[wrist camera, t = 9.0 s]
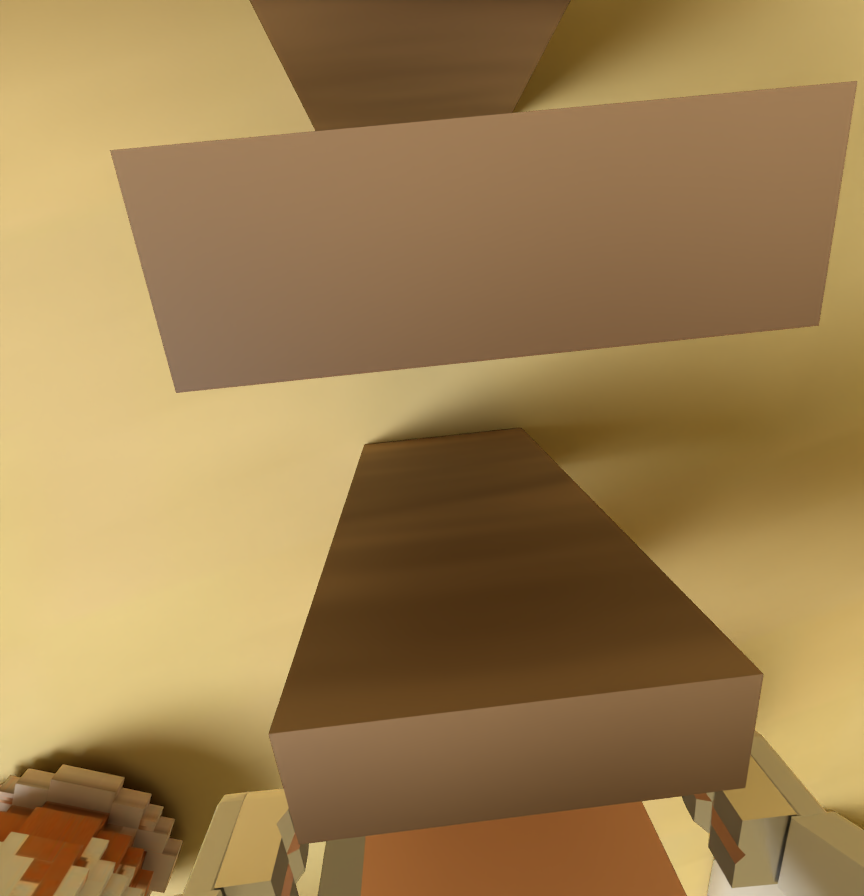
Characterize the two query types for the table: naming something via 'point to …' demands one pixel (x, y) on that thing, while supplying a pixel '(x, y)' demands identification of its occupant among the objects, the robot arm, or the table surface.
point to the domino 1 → (407, 56)
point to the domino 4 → (525, 857)
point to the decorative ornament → (82, 836)
